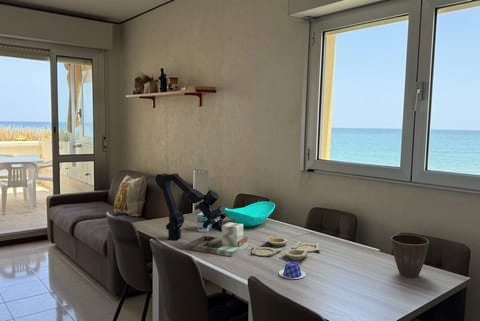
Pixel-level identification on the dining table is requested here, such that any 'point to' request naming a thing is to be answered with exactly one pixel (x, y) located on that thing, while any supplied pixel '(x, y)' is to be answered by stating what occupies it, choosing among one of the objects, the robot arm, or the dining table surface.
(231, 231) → the ash block
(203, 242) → the board
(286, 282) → the dining table surface
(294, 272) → the purple patterned hat
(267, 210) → the table top decor
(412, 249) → the plant pot
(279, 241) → the tableware set
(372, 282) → the dining table surface
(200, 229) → the light bulb box
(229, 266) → the dining table surface
